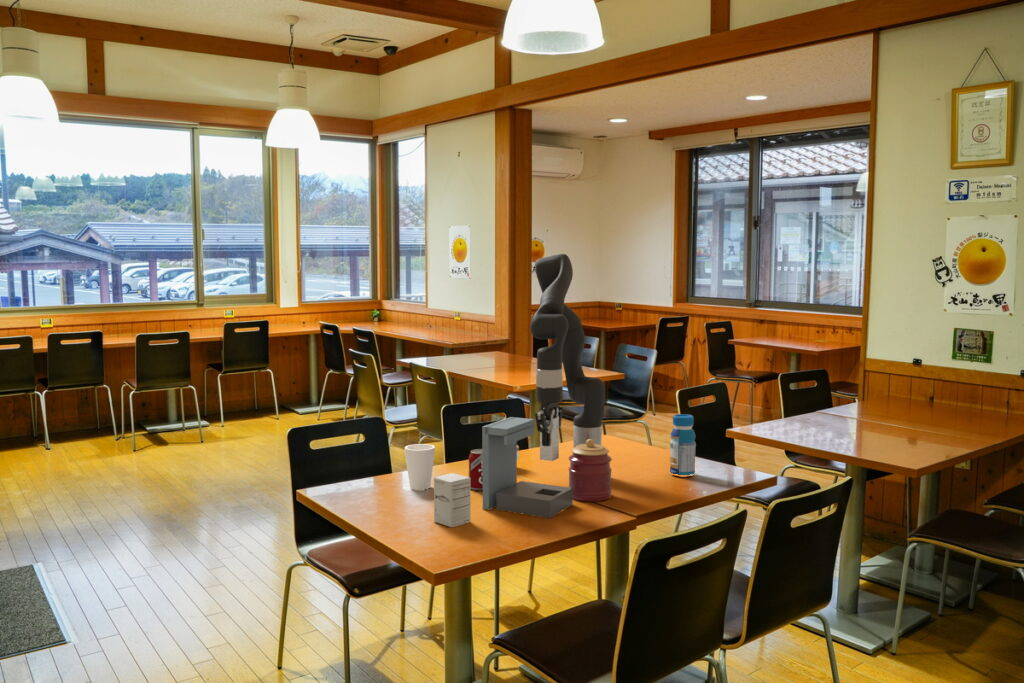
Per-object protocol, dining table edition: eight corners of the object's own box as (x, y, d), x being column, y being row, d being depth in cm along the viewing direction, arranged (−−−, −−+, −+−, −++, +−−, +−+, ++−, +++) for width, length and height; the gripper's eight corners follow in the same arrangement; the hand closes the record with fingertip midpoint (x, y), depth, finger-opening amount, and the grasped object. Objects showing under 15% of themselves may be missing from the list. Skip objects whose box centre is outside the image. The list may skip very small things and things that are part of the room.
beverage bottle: (690, 479, 273) (691, 418, 271) (665, 476, 277) (666, 416, 275) (698, 474, 280) (699, 414, 278) (674, 470, 284) (675, 412, 282)
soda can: (464, 489, 261) (464, 452, 260) (475, 484, 267) (475, 447, 266) (483, 492, 258) (483, 454, 257) (494, 487, 264) (494, 449, 263)
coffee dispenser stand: (511, 494, 255) (510, 416, 253) (534, 498, 252) (534, 419, 249) (482, 508, 241) (482, 426, 238) (507, 512, 237) (506, 429, 235)
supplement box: (433, 522, 228) (432, 476, 227) (454, 516, 234) (453, 472, 232) (450, 528, 223) (450, 481, 222) (471, 522, 228) (471, 476, 227)
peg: (546, 456, 241) (546, 415, 240) (558, 458, 239) (558, 416, 238) (539, 459, 238) (539, 417, 237) (552, 461, 236) (552, 419, 235)
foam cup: (433, 491, 259) (433, 450, 258) (403, 491, 259) (403, 450, 258) (436, 483, 268) (435, 443, 267) (407, 483, 268) (406, 444, 267)
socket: (521, 497, 253) (521, 480, 252) (572, 504, 245) (572, 487, 244) (496, 509, 240) (496, 492, 239) (549, 518, 231) (549, 500, 231)
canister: (618, 494, 255) (618, 437, 254) (600, 504, 244) (600, 445, 243) (579, 488, 262) (580, 433, 260) (560, 498, 251) (561, 440, 249)
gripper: (548, 380, 244) (548, 438, 246) (526, 387, 232) (526, 448, 234) (571, 382, 241) (571, 440, 243) (550, 388, 228) (550, 450, 230)
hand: (549, 444), depth 238 cm, fingers closed on peg, 4 cm apart
